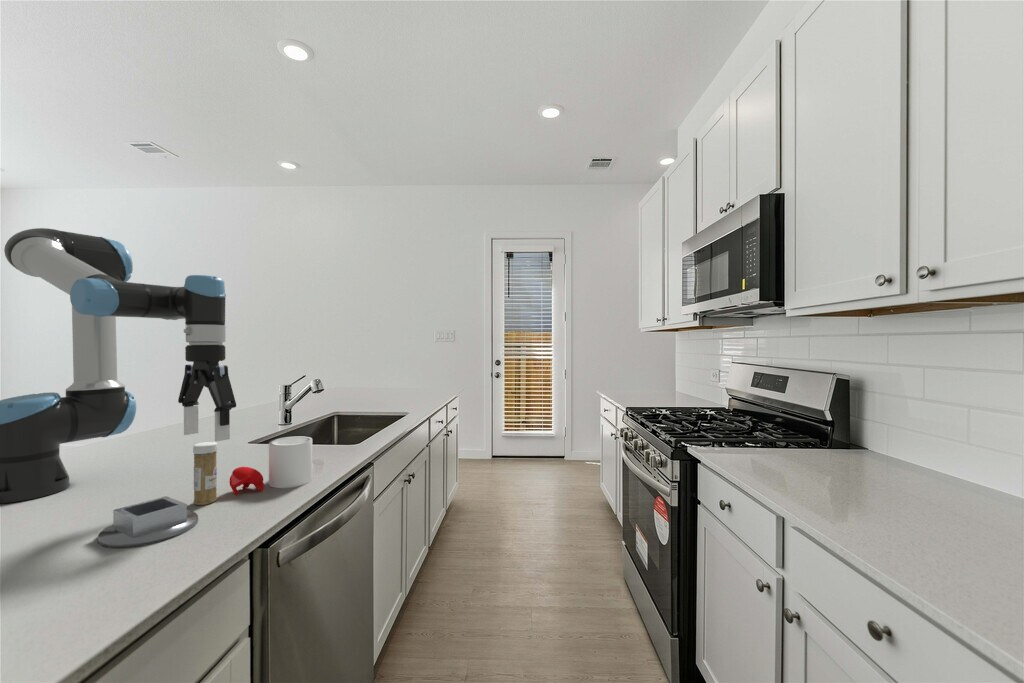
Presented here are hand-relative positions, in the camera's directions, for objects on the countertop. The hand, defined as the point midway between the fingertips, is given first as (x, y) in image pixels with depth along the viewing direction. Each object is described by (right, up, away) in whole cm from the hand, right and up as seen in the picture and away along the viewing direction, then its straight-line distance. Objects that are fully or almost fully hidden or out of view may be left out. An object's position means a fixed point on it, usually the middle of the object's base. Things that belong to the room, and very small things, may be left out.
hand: (206, 437), depth 101 cm
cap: (+5, -15, +8) cm, 18 cm away
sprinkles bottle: (0, -15, 0) cm, 15 cm away
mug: (+11, -15, +16) cm, 25 cm away
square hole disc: (-1, -15, -15) cm, 21 cm away
